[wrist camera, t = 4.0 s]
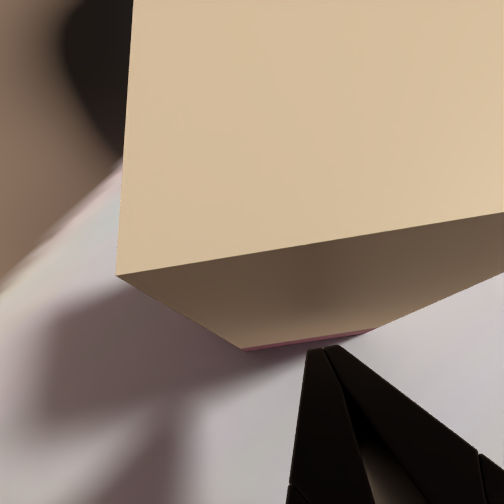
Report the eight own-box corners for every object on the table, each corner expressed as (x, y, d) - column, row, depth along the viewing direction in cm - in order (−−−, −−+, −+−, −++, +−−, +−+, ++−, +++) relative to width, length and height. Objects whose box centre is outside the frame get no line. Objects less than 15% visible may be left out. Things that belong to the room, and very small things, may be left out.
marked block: (365, 333, 14) (722, 175, 3) (245, 351, 14) (115, 275, 3) (333, 227, 16) (452, -82, 5) (232, 244, 16) (135, -21, 5)
